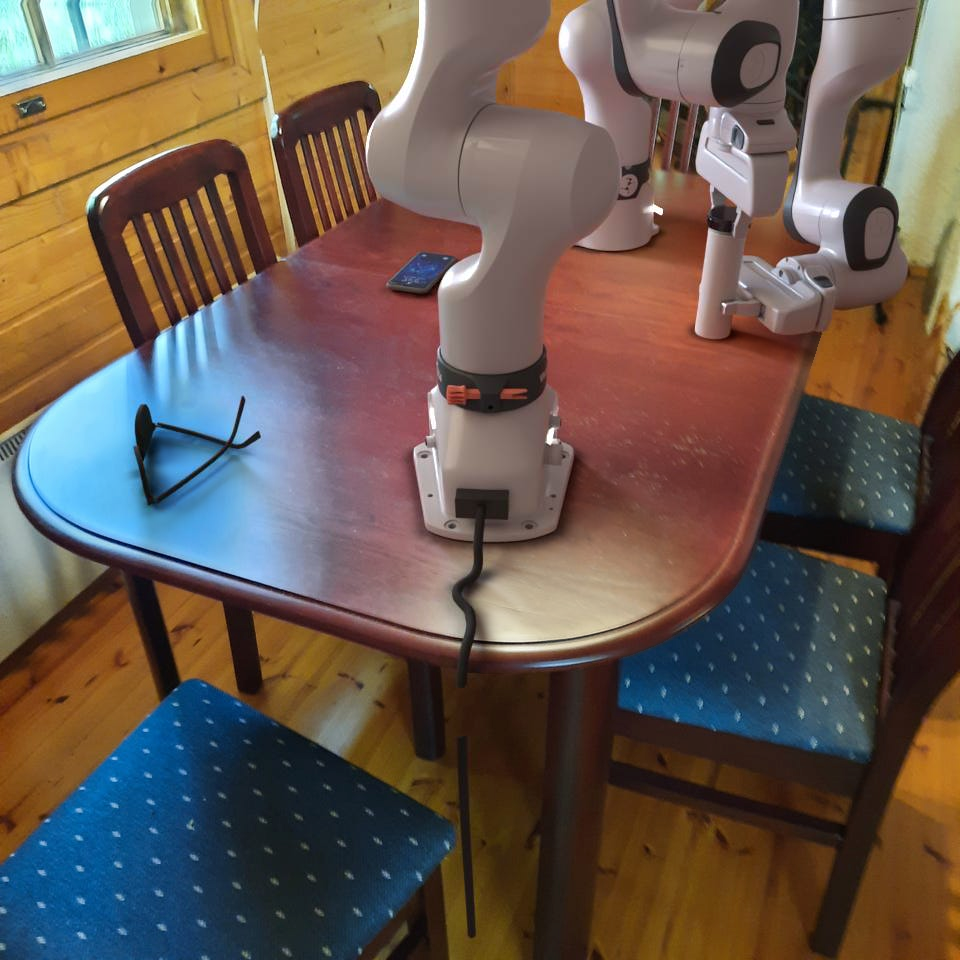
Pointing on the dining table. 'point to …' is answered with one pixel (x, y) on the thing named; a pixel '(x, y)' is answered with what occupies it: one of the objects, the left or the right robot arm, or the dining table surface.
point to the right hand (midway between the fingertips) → (711, 299)
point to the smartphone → (421, 272)
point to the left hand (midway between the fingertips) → (728, 227)
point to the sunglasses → (147, 427)
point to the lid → (722, 218)
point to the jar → (718, 283)
